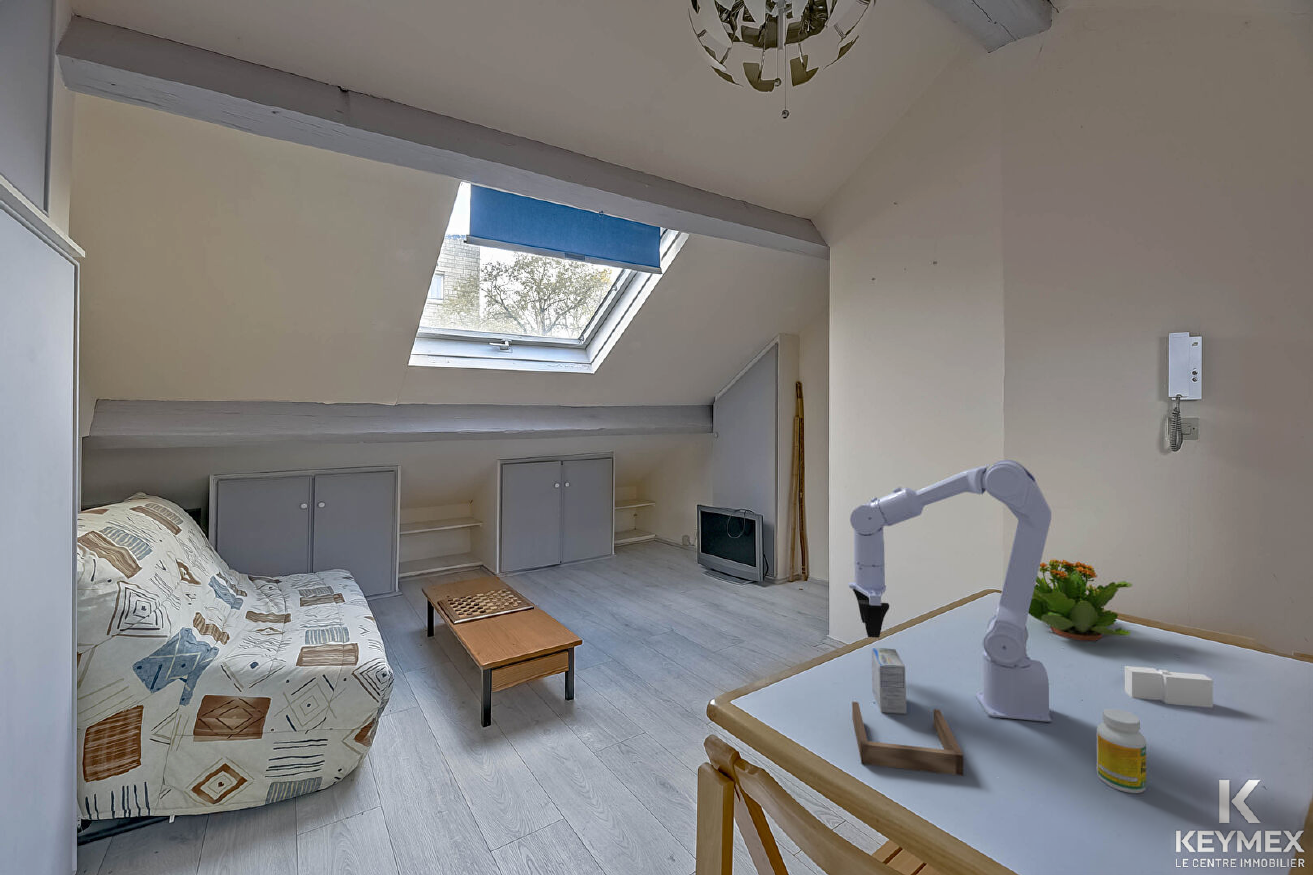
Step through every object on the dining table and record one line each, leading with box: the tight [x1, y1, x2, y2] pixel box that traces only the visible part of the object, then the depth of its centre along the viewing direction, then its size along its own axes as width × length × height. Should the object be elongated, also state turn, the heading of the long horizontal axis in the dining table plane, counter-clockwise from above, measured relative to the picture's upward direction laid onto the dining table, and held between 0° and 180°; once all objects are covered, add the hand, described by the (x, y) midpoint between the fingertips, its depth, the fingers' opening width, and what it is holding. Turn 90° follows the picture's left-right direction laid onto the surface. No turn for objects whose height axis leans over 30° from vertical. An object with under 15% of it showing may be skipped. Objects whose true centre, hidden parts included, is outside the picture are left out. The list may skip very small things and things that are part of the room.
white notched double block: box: [1124, 665, 1214, 708], centre depth 101 cm, size 15×11×6 cm
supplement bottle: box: [1096, 708, 1147, 794], centre depth 78 cm, size 5×5×10 cm
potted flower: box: [1028, 558, 1133, 642], centre depth 130 cm, size 25×24×18 cm
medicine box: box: [871, 647, 907, 715], centre depth 101 cm, size 8×4×9 cm, turn 168°
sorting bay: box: [851, 701, 965, 777], centre depth 88 cm, size 14×13×3 cm
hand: (870, 629), depth 111 cm, fingers open, 7 cm apart
